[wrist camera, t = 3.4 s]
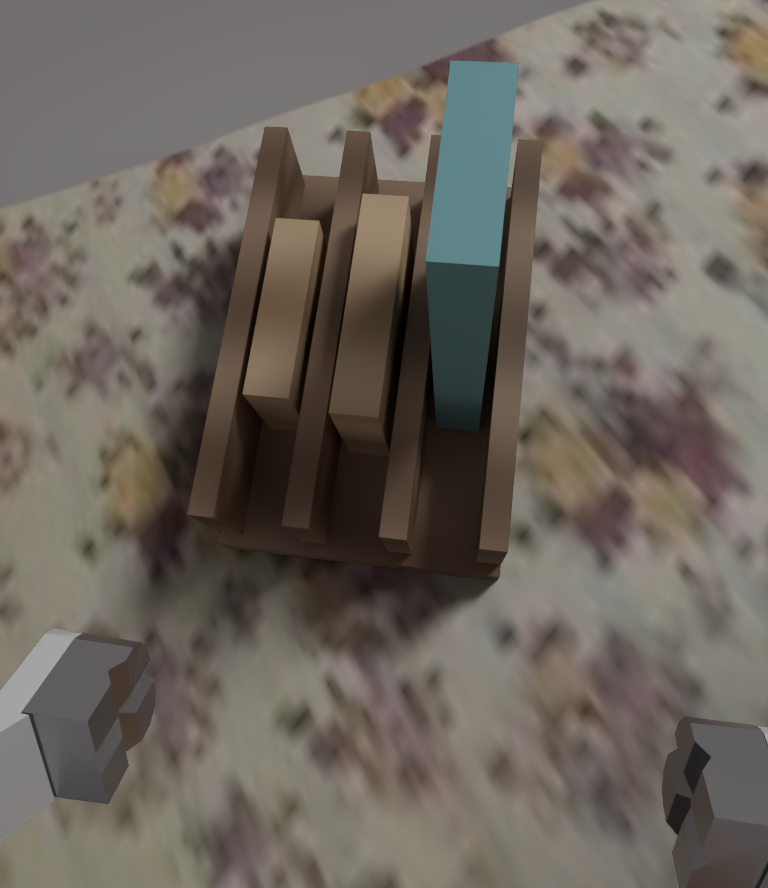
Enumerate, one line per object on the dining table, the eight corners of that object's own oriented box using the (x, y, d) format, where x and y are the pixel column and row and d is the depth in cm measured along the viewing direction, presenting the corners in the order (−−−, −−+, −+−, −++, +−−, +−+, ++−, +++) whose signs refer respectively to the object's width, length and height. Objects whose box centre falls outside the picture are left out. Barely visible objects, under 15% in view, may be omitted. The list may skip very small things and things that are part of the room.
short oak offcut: (376, 264, 34) (362, 193, 29) (415, 267, 34) (408, 196, 28) (349, 452, 32) (328, 412, 26) (390, 456, 31) (378, 417, 26)
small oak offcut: (297, 272, 34) (275, 217, 30) (335, 275, 34) (319, 220, 30) (270, 428, 32) (242, 394, 28) (310, 432, 32) (288, 398, 28)
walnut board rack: (293, 192, 37) (266, 116, 32) (530, 207, 36) (543, 130, 30) (227, 547, 32) (184, 527, 27) (497, 580, 31) (506, 566, 26)
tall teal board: (450, 300, 33) (451, 60, 20) (491, 303, 33) (518, 63, 19) (436, 427, 32) (425, 261, 18) (478, 431, 31) (499, 266, 18)
